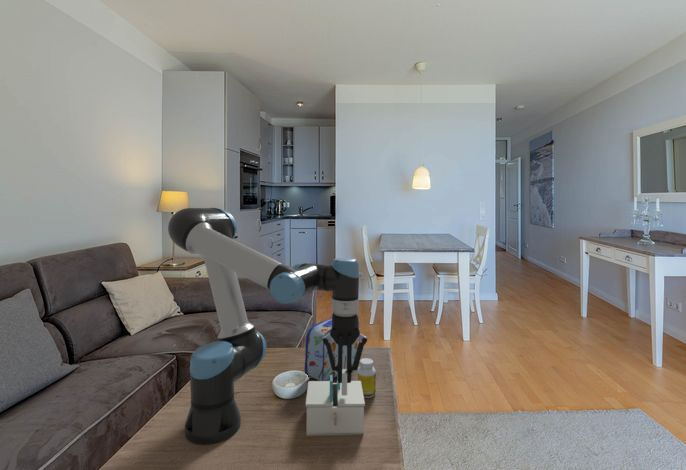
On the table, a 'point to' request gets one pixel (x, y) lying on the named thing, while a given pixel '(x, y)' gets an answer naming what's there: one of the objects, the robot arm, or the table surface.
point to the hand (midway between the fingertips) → (344, 392)
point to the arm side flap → (320, 393)
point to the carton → (335, 419)
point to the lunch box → (323, 352)
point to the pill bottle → (367, 377)
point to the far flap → (350, 394)
